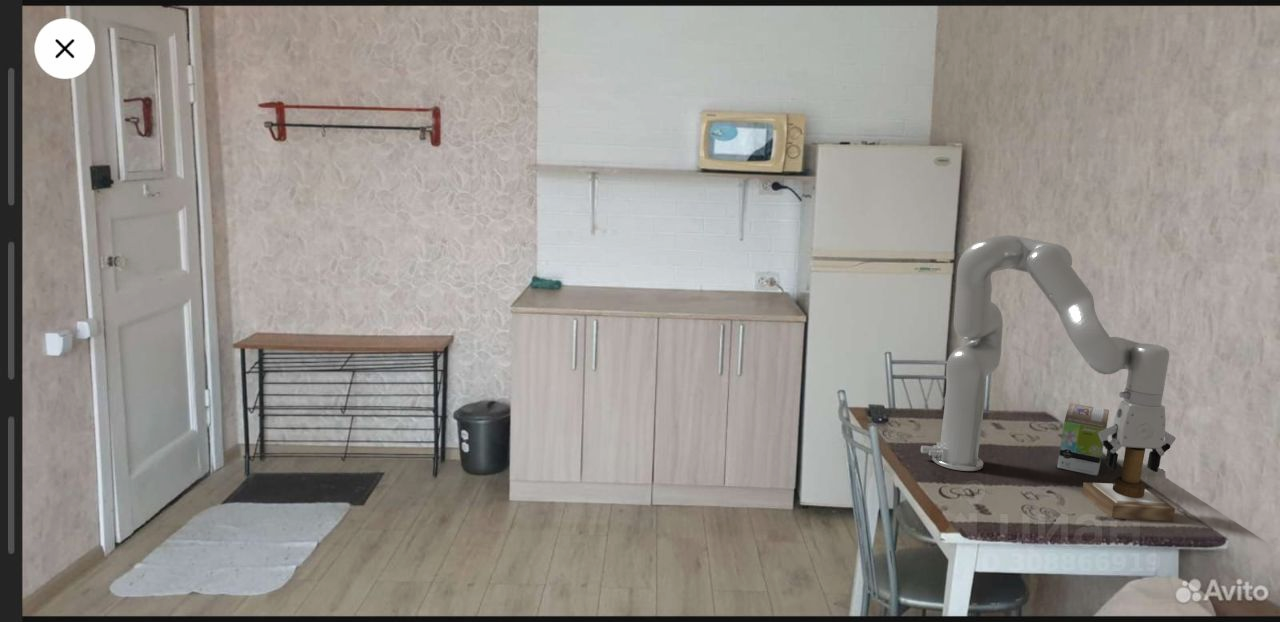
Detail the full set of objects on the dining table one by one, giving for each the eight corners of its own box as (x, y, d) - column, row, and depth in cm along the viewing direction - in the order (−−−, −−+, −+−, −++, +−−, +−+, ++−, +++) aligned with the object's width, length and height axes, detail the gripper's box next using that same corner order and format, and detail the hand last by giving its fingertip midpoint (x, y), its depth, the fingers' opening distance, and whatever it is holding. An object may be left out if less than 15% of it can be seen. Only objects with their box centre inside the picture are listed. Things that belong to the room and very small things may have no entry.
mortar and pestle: (1149, 498, 205) (1161, 423, 201) (1121, 497, 205) (1132, 422, 202) (1134, 487, 211) (1146, 414, 208) (1107, 486, 211) (1118, 413, 208)
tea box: (1099, 477, 228) (1107, 421, 226) (1056, 468, 233) (1064, 414, 230) (1101, 460, 241) (1109, 408, 239) (1061, 452, 246) (1068, 401, 243)
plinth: (1111, 517, 202) (1113, 502, 201) (1081, 494, 215) (1083, 480, 215) (1173, 520, 202) (1175, 505, 201) (1139, 497, 216) (1141, 482, 215)
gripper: (1113, 400, 200) (1102, 472, 203) (1190, 404, 200) (1177, 476, 203) (1097, 391, 207) (1086, 461, 211) (1171, 395, 208) (1159, 465, 211)
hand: (1131, 468), depth 207 cm, fingers open, 9 cm apart
